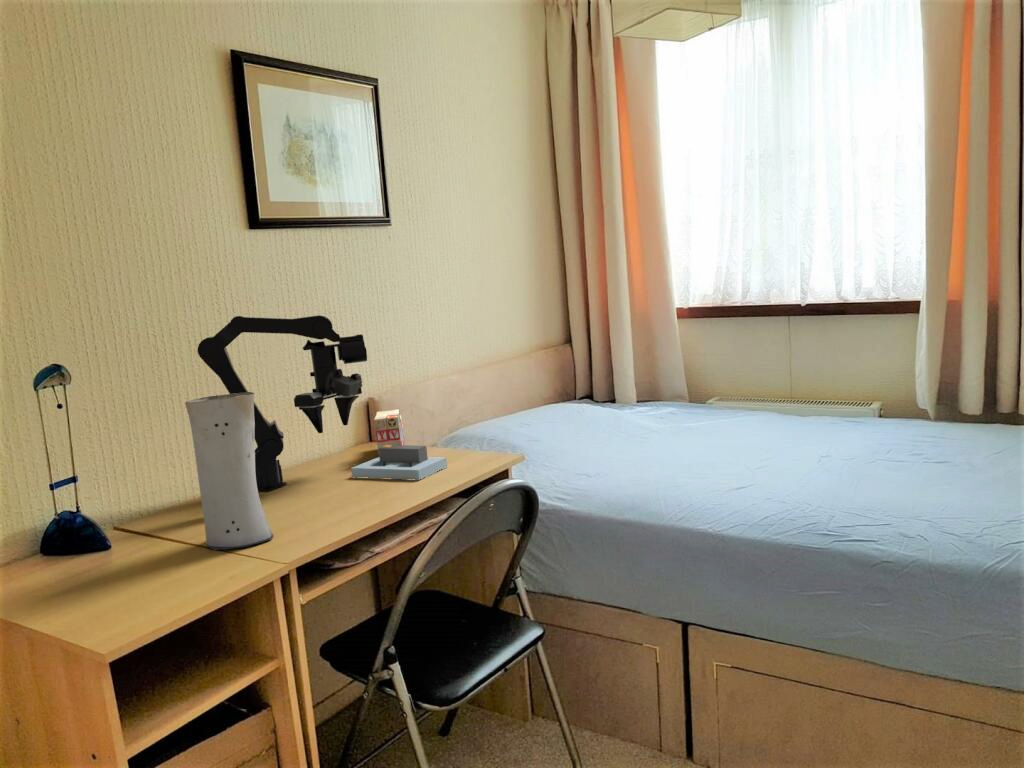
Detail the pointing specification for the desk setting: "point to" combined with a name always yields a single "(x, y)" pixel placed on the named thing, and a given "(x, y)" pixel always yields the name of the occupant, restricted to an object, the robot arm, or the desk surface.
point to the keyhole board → (399, 469)
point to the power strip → (403, 454)
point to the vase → (228, 470)
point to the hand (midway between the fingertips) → (333, 429)
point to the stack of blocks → (389, 428)
